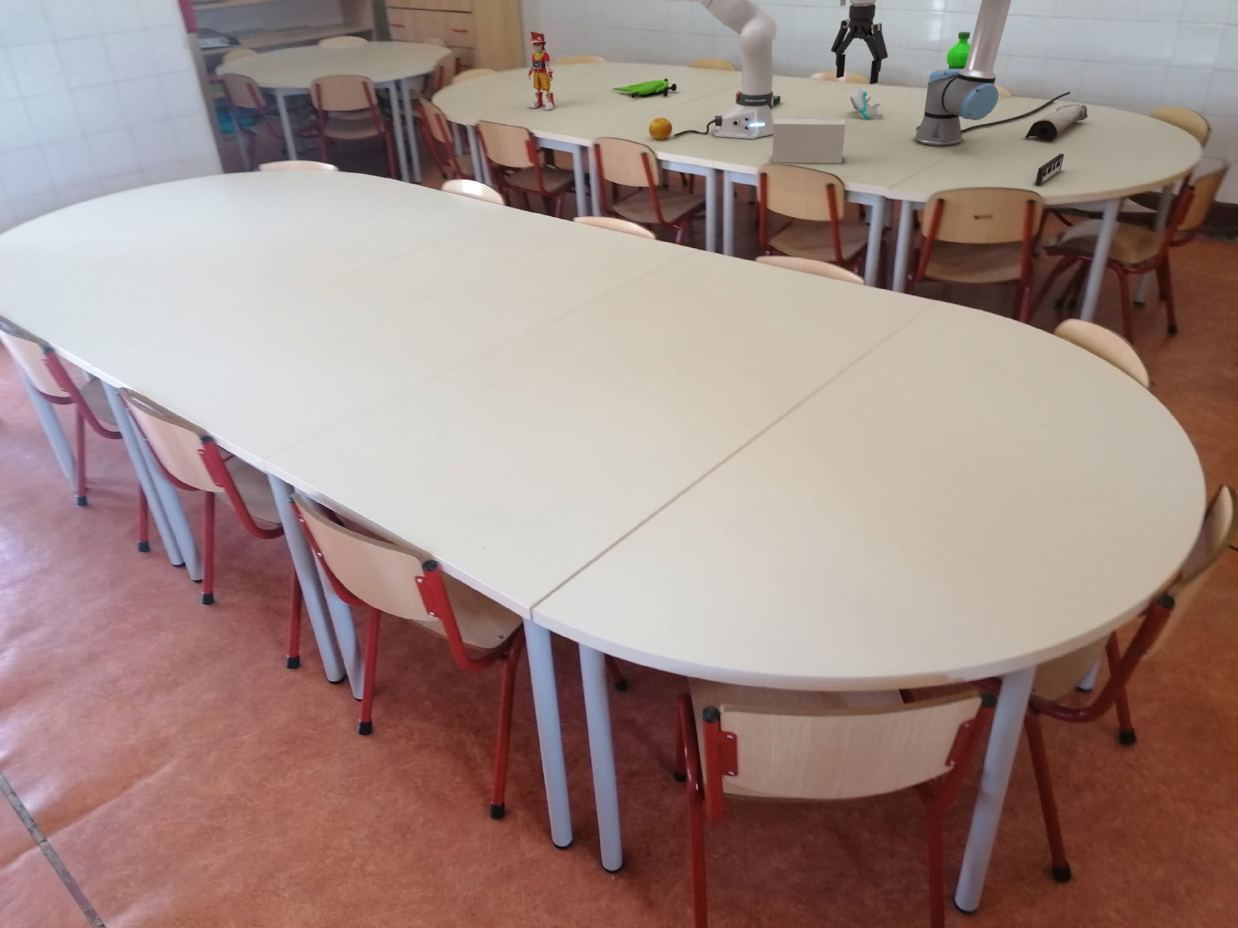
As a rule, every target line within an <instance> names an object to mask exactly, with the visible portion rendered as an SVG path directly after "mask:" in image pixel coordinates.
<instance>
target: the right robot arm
mask: <svg viewBox="0 0 1238 928" xmlns="http://www.w3.org/2000/svg"><path fill="white" fill-rule="evenodd" d="M849 3H850V4H851V5H849V8H848V19H843V20H841V22H840V28H839V30H838V32H837V35H836V37H835V39H834V42H833V44H832V47H831V48H830V51H831V53H834V55H835V66H836V72H835V74H836V75H835V78H836V79H840V78H843V77H845V67H846V66H845V65H846V54H845V53H846V50H847V49H848V47H849V46H850V45H851V43H852V42H853V41H854V39H858V40H863V42H865V44H866V46H867V47H868V50H869V52H870V54H871V56H872V58H873V60H871V66H870V67H871V68H870V78H869V85H875V84H877V83H879V75H880V74H879V73H881V70H882V61H883V60H885V59H888V57H889V54H888V51H887V46H886V42H885V39H884V36H883V25H882V22H880V23H874V19H875V17H876V6H877V5H876V4H875V3H877V0H849ZM1011 4H1012V0H981V2H980V6H979V11H978V14H977V19H976V22H975V27H974V31H973V35H972V39H971V43H970V45H971V46H970V50H969V54H968V58H967V62H966V66H965V68H964V69H949V68H948V69H939V70H934V71H932V72H931V73H930V74H929V78H928V82H927V90H926V97H925V105H924V113H923V117H922V120H921V122H920V125H918V126H916V129H915V131H916V134H915V139H914V140H915V142H917V143H919V144H922V145H925V146H932V147H949V146H954V145H958V144H960V143H962V138H963V136H962V135H963V134H962V133H965V132H968V131H971V130H973V129H978V128H983V127H989V126H993V125H998V124H1003V123H1007V122H1012V121H1016V120H1018V119H1022V118H1024V117H1027V116H1030V115H1032V114H1034V113H1036V112H1038V111H1040V110H1042V109H1044V108H1045V107H1047V106H1049V105H1050V104H1051V103H1054V102H1055V101H1057V100H1059V99H1061V98H1063V97H1065V96H1069V95H1070V94H1071V91H1067V92H1065V93H1062V94H1060V95H1058V96H1056V97H1054V98H1052V99H1050V100H1049V101H1047V102H1046V103H1044V104H1042V105H1040V106H1039V107H1037V108H1035V109H1033V110H1030V111H1028V112H1026V113H1024V114H1020V115H1018V116H1014V117H1010V118H1007V119H1002V120H998V121H992V122H987V123H983V124H982V123H981V124H977V125H973V126H970V127H967V128H964V129H962V127H961V120H960V117H961V118H962V119H965V120H970V121H980V120H982V119H985V118H986V117H987V116H988V115H989V114H991V113H992V112H993V110H994V108H995V107H996V105H997V104H998V101H999V91H998V88H997V87H996V85H995V83H996V79H997V74H996V73H995V72H994V68H995V64H996V60H997V56H998V51H999V48H1000V45H1001V41H1002V38H1003V34H1004V31H1005V30H1004V29H1005V26H1006V23H1007V18H1008V16H1009V15H1008V14H1009V12H1010V7H1011ZM848 30H849V31H848Z"/></svg>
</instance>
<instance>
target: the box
mask: <svg viewBox="0 0 1238 928" xmlns="http://www.w3.org/2000/svg"><path fill="white" fill-rule="evenodd" d="M773 126H774V130H773V134H772V135H773V136H772V151H771V152H772V153H771V154H772V155H771V162H772V163H790V164H791V163H793V164H795V163H796V164H799V163H800V164H801V163H802V164H804V163H805V164H808V163H809V164H842V162H843V153H844V142H845V132H846V131H845V130H846V119H841V118H840V119H837V118H836V119H835V118H834V119H829V118H827V119H824V118H775V119H774V121H773Z"/></svg>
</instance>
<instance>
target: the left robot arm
mask: <svg viewBox="0 0 1238 928" xmlns="http://www.w3.org/2000/svg"><path fill="white" fill-rule="evenodd" d="M698 2H700V4H701V5H702V6H703V7H704V8H705V9H706V10H707V11H708V12H709V13H711V14H712V16H714V17H715V18H716V19H717V20H718V21H719V22H720V23H721V24H722V25H723V26H725V27H727V28H729V29H730V30H732V31H734V32H735V33H736V34H737V35H739V36H740V37H739V45H740V61H741V62H740V63H741V90H737V91H736V92H735V103H734V104H733V105H732V106H730V107H729V108H727V110H726V111H724V113H722V114H721V115H714V119H712V120H711V121H709V122H708V123H707V124H706V131H704V132H701V131H698V130H694V129H688V130H683V131H680V132H677V133H674V134H673V136H674V137H679V136H682V135H685V134H688V133H694V134H699V135H707V134H709V133H710V126H711V125H712V124H714V127H715V128H714V130H713V135H714V136H715V137H721V138H722V137H723V138H736V139H737V138H738V139H750V140H753V139H754V140H755V139H758V138H761V137H766V136H770V135H773V130H774V120H773V107H774V106H773V95H774V91H773V77H774V76H773V75H774V67H773V41H774V40H775V38H776V35H777V24H776V21H775V20H774V19H773V17H772V16H770V15H769V14H768V13H766V12H765V11H764V9H762V8H760V7H759V6H758V5H756V4H755V3H754V2H752V1H751V0H698ZM846 4H847V0H840V1H839V5H840V6H841V7H845V6H846Z"/></svg>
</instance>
